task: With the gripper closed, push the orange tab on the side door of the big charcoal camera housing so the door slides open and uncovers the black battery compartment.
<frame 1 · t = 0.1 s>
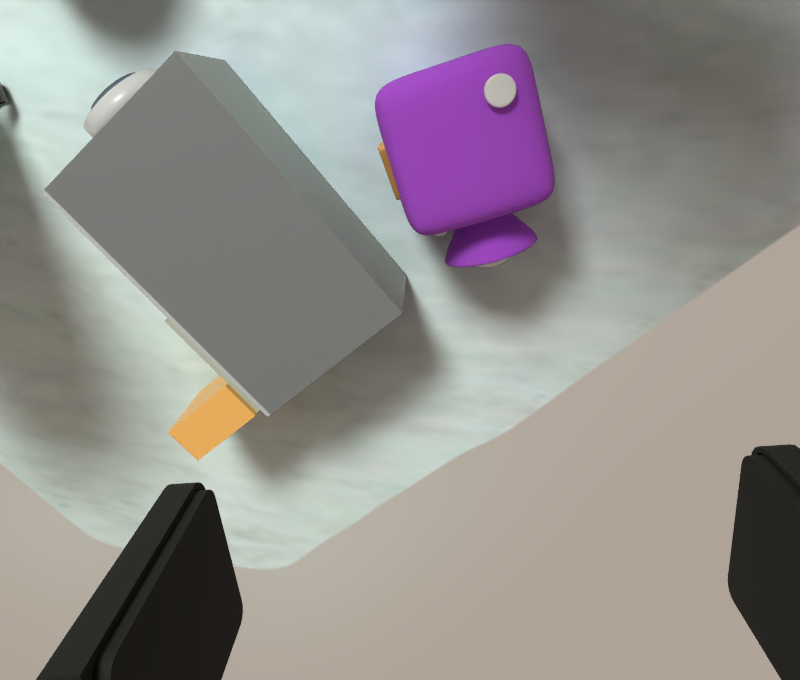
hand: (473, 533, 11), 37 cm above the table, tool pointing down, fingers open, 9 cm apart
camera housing: (263, 225, 47), on the table
side door: (202, 369, 46), point 5 cm above the table, slide at 0.0 cm
toy camera: (466, 158, 44), on the table
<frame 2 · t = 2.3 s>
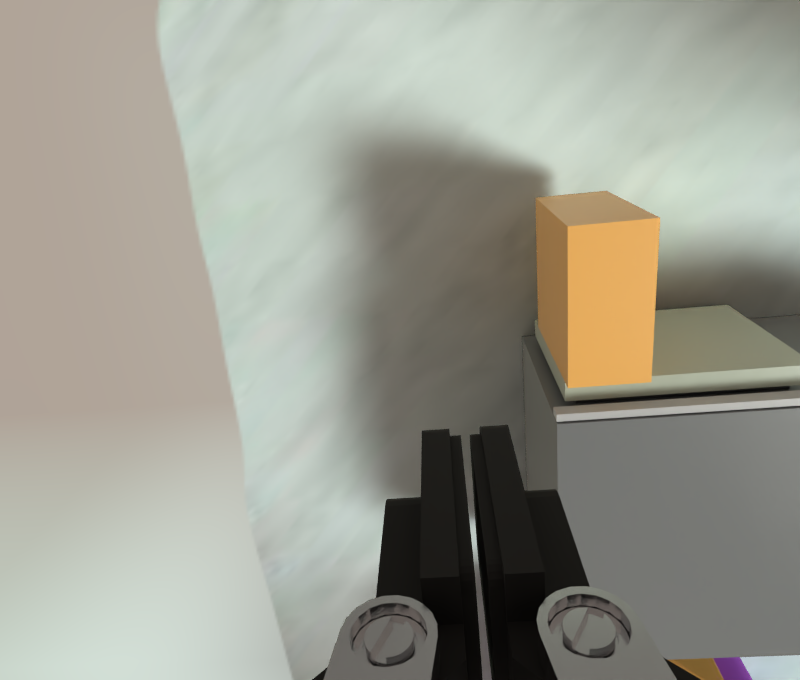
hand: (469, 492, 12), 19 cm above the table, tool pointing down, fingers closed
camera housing: (715, 426, 32), on the table
side door: (660, 281, 25), point 5 cm above the table, slide at 0.0 cm
toy camera: (595, 639, 38), on the table
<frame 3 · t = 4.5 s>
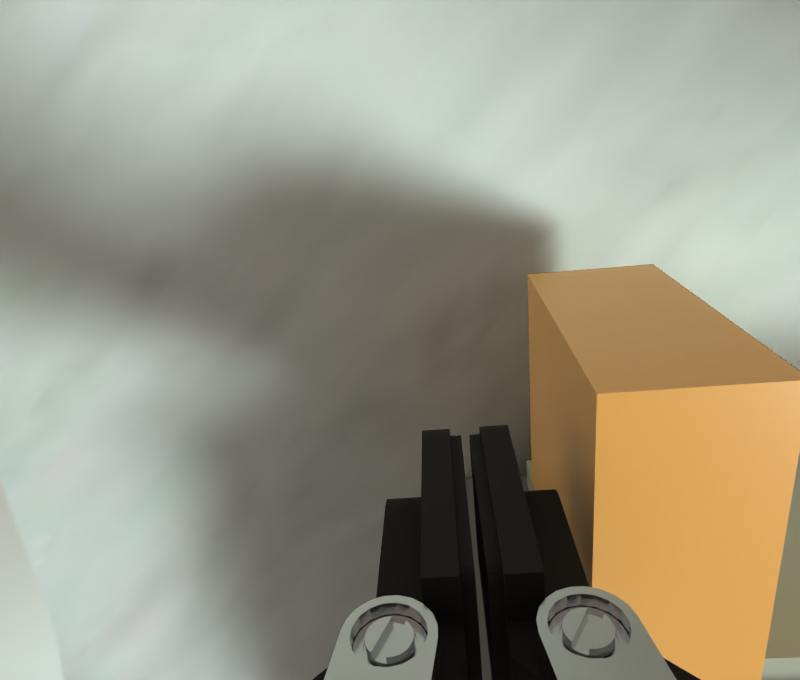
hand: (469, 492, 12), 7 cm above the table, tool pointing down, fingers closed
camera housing: (763, 608, 21), on the table
side door: (758, 441, 13), point 5 cm above the table, slide at 1.4 cm, touching gripper
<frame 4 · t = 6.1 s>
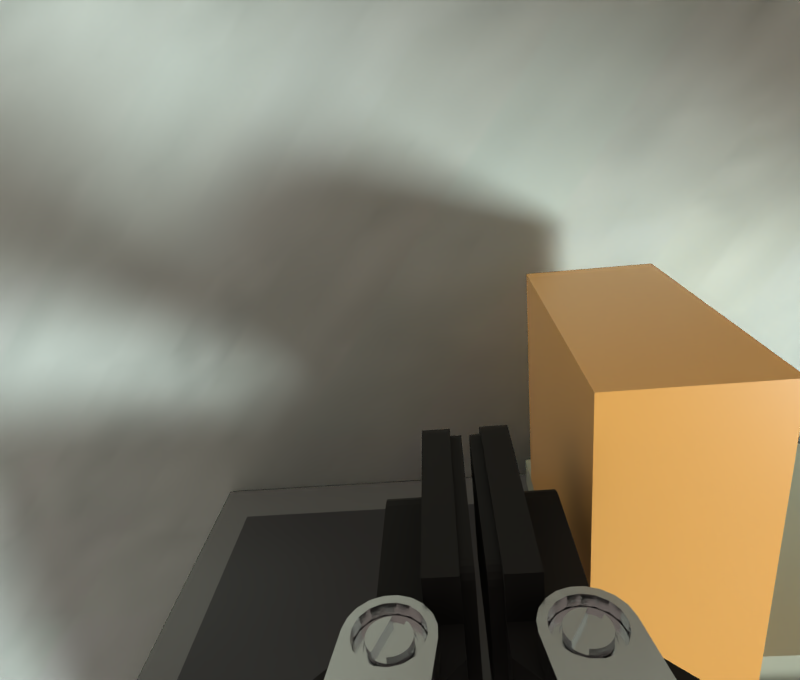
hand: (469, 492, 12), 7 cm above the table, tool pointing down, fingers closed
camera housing: (538, 616, 22), on the table
side door: (756, 440, 13), point 5 cm above the table, slide at 9.1 cm, touching gripper
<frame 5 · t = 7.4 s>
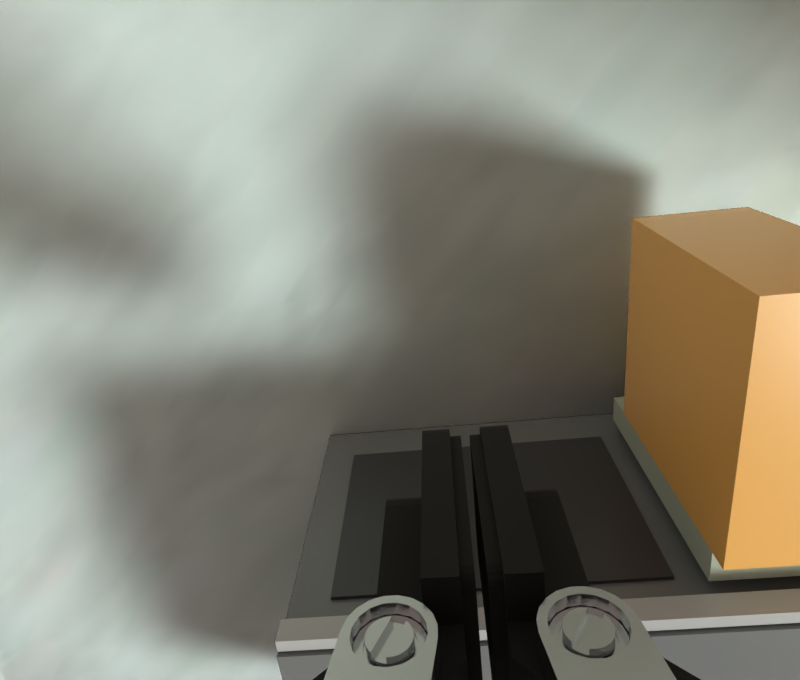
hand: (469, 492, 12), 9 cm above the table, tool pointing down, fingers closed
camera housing: (612, 550, 23), on the table
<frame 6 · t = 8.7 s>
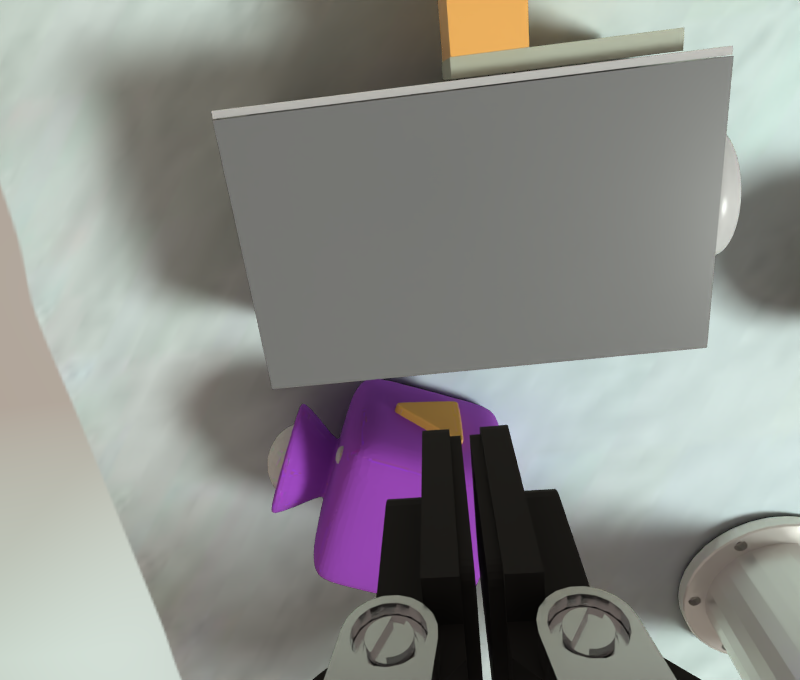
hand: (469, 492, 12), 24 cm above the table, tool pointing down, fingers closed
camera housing: (460, 202, 34), on the table
toy camera: (387, 437, 40), on the table
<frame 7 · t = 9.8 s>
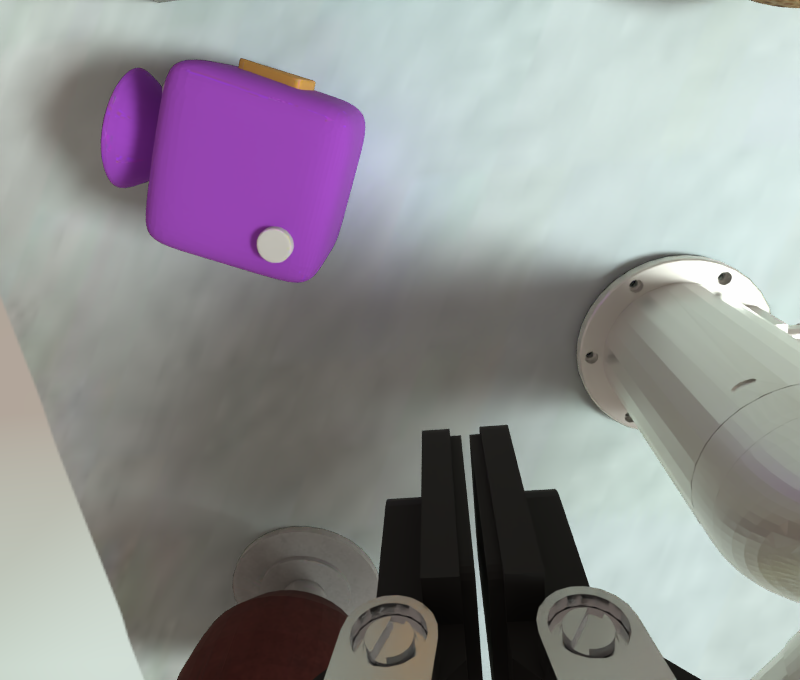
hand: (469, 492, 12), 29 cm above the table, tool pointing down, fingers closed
mate gourd: (299, 580, 51), on the table
toy camera: (257, 156, 38), on the table
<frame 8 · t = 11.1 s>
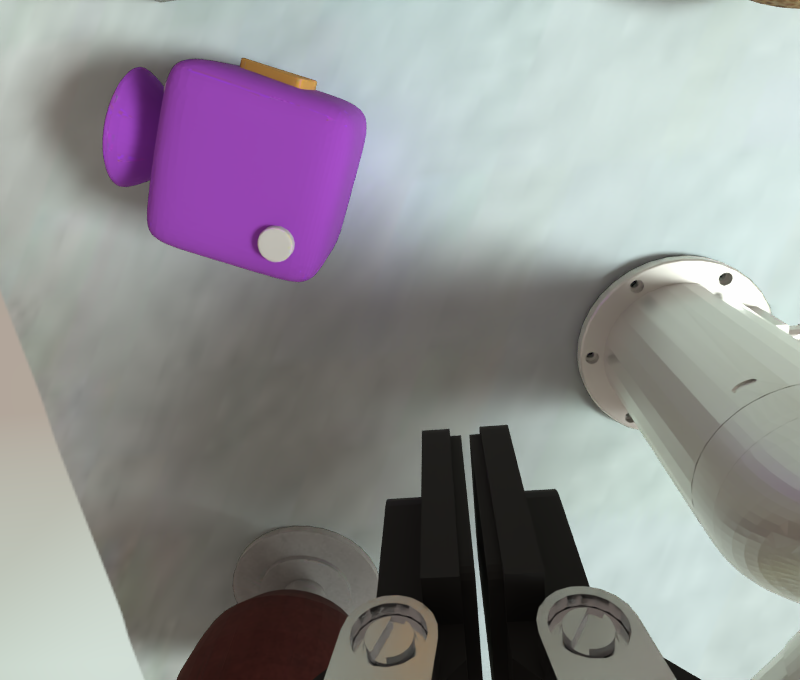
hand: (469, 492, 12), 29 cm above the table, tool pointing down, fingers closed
mate gourd: (299, 580, 51), on the table
toy camera: (258, 156, 38), on the table
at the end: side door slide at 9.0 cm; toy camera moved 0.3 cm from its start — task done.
